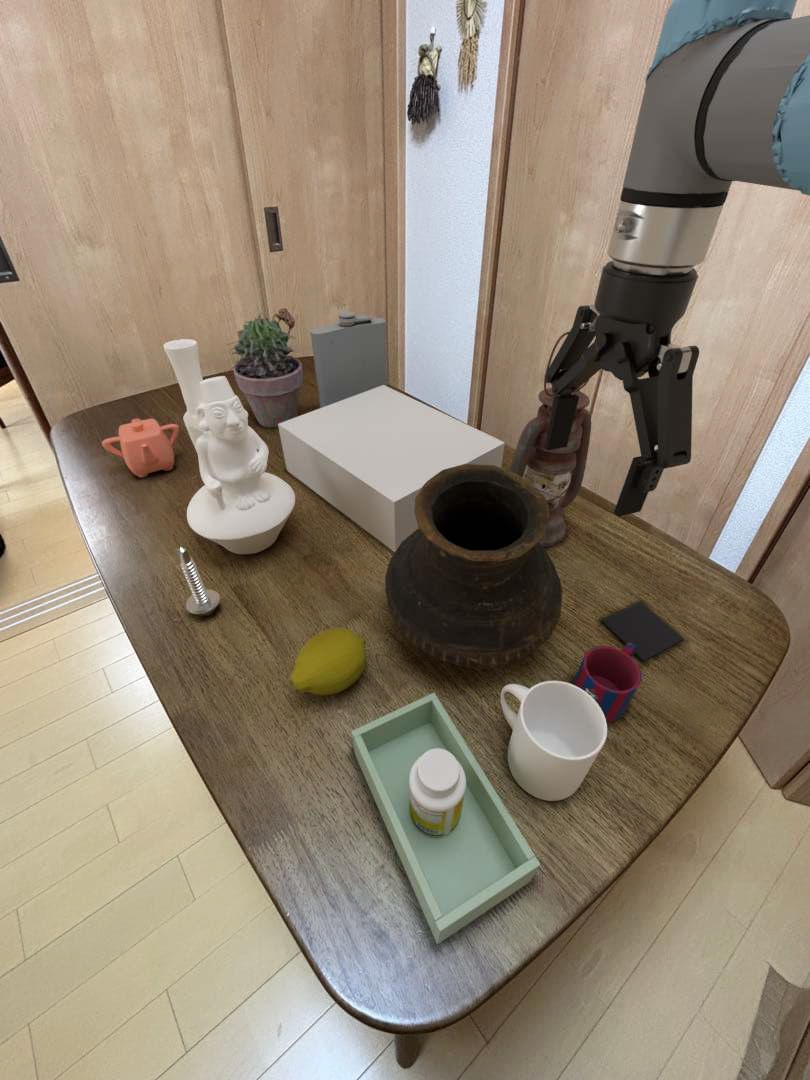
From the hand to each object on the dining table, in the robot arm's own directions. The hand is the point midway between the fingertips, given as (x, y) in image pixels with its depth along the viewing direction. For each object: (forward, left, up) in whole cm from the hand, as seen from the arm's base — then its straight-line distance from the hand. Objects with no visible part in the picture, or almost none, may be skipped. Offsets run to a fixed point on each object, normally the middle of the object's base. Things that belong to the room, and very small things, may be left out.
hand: (588, 477), depth 54 cm
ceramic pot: (+6, +9, -26) cm, 28 cm away
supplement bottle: (-15, +27, -26) cm, 40 cm away
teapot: (+72, +47, -26) cm, 90 cm away
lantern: (+18, -13, -26) cm, 35 cm away
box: (+44, +4, -26) cm, 52 cm away
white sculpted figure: (+41, +34, -26) cm, 60 cm away
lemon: (+5, +31, -26) cm, 41 cm away
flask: (+72, 0, -26) cm, 77 cm away
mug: (-15, +14, -26) cm, 33 cm away
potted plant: (+81, +18, -26) cm, 88 cm away
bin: (-15, +27, -26) cm, 41 cm away
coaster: (-8, -12, -26) cm, 29 cm away
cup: (-13, 0, -26) cm, 29 cm away
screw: (+25, +44, -26) cm, 57 cm away
